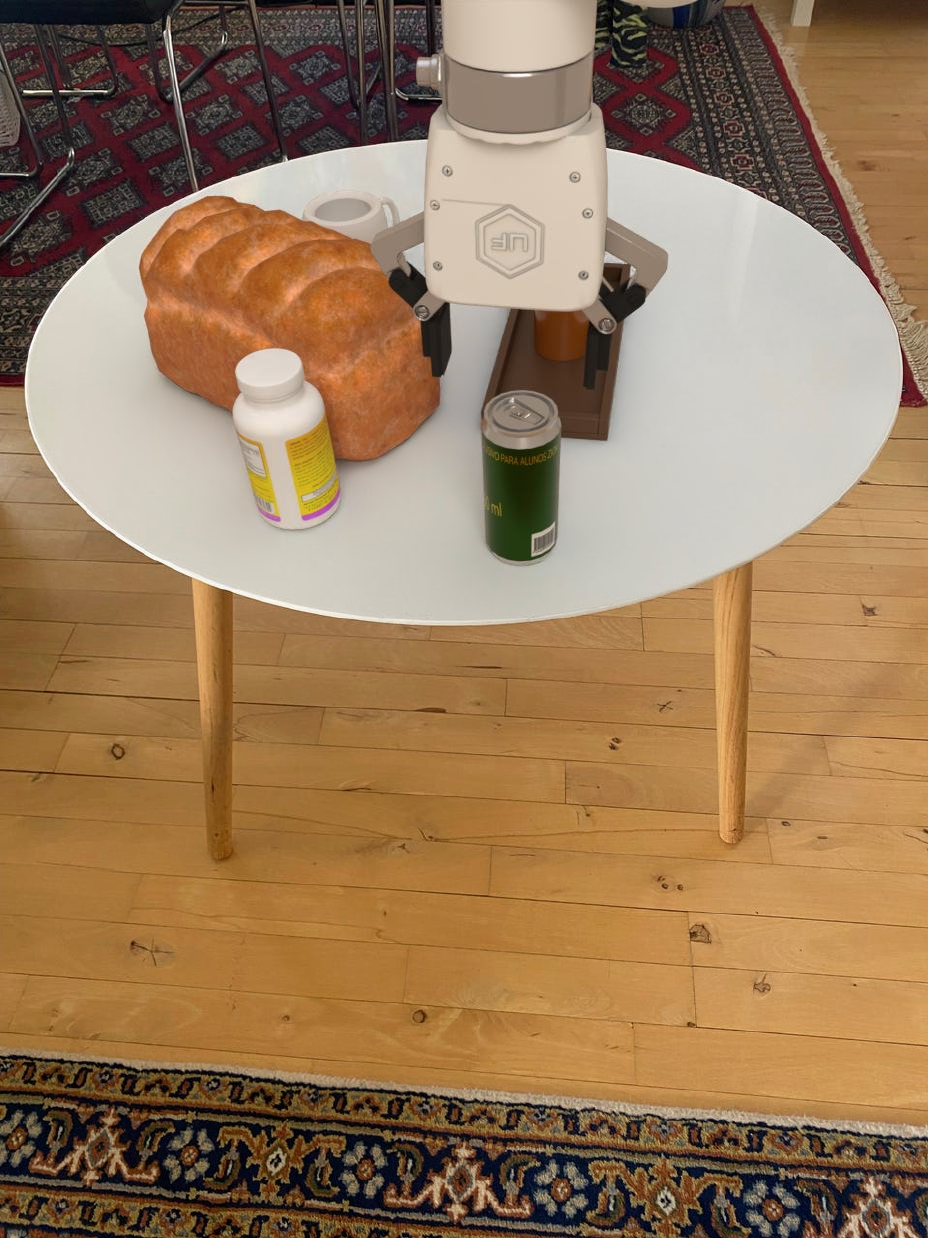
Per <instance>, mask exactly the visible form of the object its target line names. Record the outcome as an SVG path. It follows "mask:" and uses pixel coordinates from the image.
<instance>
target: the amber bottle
mask: <svg viewBox="0 0 928 1238" xmlns="http://www.w3.org/2000/svg"><path fill="white" fill-rule="evenodd" d="M588 326H589V319H588V318H587V316H586V315H585V314H584V313H583V311H582V310H578V311H569V312H564V311H542V310H534V349H535V351H536V352H537V353H538V354H539V355H540V356H542V357H544V358H546V359H549V360H553V361H570V360H575V359H578V358H580V357H582V356H584V355H585V353H586V338H587V331H588Z"/></svg>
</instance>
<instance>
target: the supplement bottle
mask: <svg viewBox="0 0 928 1238" xmlns="http://www.w3.org/2000/svg"><path fill="white" fill-rule="evenodd" d="M235 374H236V378H237V383H238V388H239V390H240V391H241V393H240V394H239V396H238V397H237V399H236V401H235V403H234V406H233V413H232V421H233V424H234V425H233V426H234V428H235V431H236V436H237V438H238V442H239V443H238V444H239V445H240V449H241V453H242V456H243V457H242V458H243V460H244V464H245V469H246V471H247V474H248V475H247V476H248V480H249V483H250V486H251V489H252V494H253V497H254V500H255V504H256V507H257V510H258V512H259V514H260V516H261V517H262V518H263V519H264V520H265V521H266V522H267V523H269V525H272V526H274V527H276V528H279V529H283V530H293V531H294V530H295V531H296V530H303V529H304V530H305V529H309V528H312V527H316V526H318V525H320V524H322V523H324V522H326V521H327V520H328V519H329V518H331V517H332V516H333V515H334V513H335V512H336V511H337V510H338V508H339V506H340V504H341V500H342V499H341V498H342V493H341V491H342V490H341V486H340V479H339V474H338V469H337V464H336V458H335V457H334V453H333V448H332V443H331V438H330V433H329V427H328V422H327V417H326V412H325V407H324V403H323V399H322V396H321V394H320V393H319V391H318V390H317V389H316V388H315V387H314V386H313V385H312V384H310V383H309V382H307V381H305V380H304V376H305V375H304V370H303V365H302V362H301V359H300V358H299V356H298V355H297V354H295V353H294V352H291V351H289V350H285V349H278V348H273V349H264V350H260V351H256V352H254V353H251V354H249V355H247V356H246V357H244V358H243V359H242V360H241V361H240V362H239V363H238V365H237V366H236V371H235Z"/></svg>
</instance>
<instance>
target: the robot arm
mask: <svg viewBox="0 0 928 1238" xmlns="http://www.w3.org/2000/svg"><path fill="white" fill-rule="evenodd" d="M620 1H622V2H625V3H627V4H633V5H637V6H642V7H647V8H657V9H660V8H661V9H668V8H669V9H670V8H677V7H682V6H686V5H690V4H692V3H695V2H697V1H698V0H620ZM440 7H441V8H440V9H441V28H442V31H441V32H442V48H441V49H440V51H439V52H438V54H437V53H436V54H435V53H433V54H432V55H431V57H428V56H426V57H425V56H418V57H417V59H416V64H415V65H416V67H415V77H416V78H415V79H416V85H417V86H418V87H431V90H436V91H438V95H439V97H441V101H442V102H441V104H440V105H439V106H438V107H437V109H436V110H435V111H434V112H433V114H432V115H431V117H430V122H429V128H428V135H427V143H426V156H425V170H424V190H423V191H424V194H423V200H424V201H423V211H421V212H419V213H417V214H415V215H413V216H411V217H409V218H405V220H402V221H400V223H398V224H396V225H394V226H393V225H392V226H389V227H388V228H387V229H385V230H383V231H381V232H379V233H377V234H376V236H375V238H374V240H373V242H372V244H371V246H370V252H371V254H372V255H373V257H374V259H375V260H376V262H377V263H378V265H379V267H380V268H381V270H382V272H383V273H384V274H386V276H387V278H388V279H389V281H388V282H389V286H390V287H391V288H392V290H394V291H395V292H396V293H397V294H398V295H399V296H400V297H401V298H402V299H403V300H404V301H405V302H406V303H408V304H409V305H410V306H411V307H412V308H413V314H414V316H415V317H416V318H417V319H418V320H420V323H421V336H422V350H423V356H424V357H431V369H432V377H440V378H442V376H443V377H444V376H445V373H446V370H447V368H448V365H449V363H450V362H449V361H450V359H451V356H452V352H453V345H452V344H453V343H452V341H453V340H452V324H451V323H452V322H451V320H452V319H451V304H453V305H455V304H456V305H460V306H461V305H462V306H472V307H473V306H474V307H483V308H484V307H487V308H499V309H510V308H512V309H527V310H542V311H564V312H569V311H578V310H582V311H583V313H584V314H585V315H586V316H587V318H588V319H589V326H588V331H587V338H586V353H585V367H584V382H583V387H586V389H589V390H594V389H595V383H596V377H597V371H598V370H599V371H608V367H609V360H610V350H611V339H612V332H613V331H615V329H616V326H617V324H618V323H620V322H621V321H622V320H624V321H625V319H627V318H628V317H629V316H631V315H632V314H633V313H635V312H636V311H637V310H638V309H640V308H641V307H642V306H643V305H645V303H646V299H647V298H648V296H649V295H650V293H652V292H653V290H654V289H655V287H656V286H657V285H658V283H660V280H661V279H662V278H663V276H664V275H665V273H667V270H668V266H669V265H668V263H669V254H668V251H666V250H665V249H664V248H662V247H660V246H658V245H657V244H655V243H654V242H652V241H651V240H648V239H647V238H645V237H643V236H641V235H640V234H638V233H636V232H634V231H632V230H631V229H629V228H628V227H626V226H624V225H623V224H621V223H619V222H617V221H615V220H614V219H612V218H610V217H609V216H608V213H609V212H608V211H609V209H608V207H609V203H608V201H609V181H608V179H609V177H608V174H609V173H608V171H609V170H608V155H607V152H608V151H607V142H606V141H607V140H606V133H605V124H604V117H603V111H602V109H601V108H600V106H599V105H598V104H596V103H595V102H593V101H592V92H593V77H594V59H595V42H596V26H597V10H598V0H440ZM421 244H423V266H424V275H423V274H422V273H421V272H420V271H419V270H418V268H416V267H415V266H414V265H413V264H412V263H411V262H410V261H408V260H407V259H406V255H405V253H403V252H405V251H408V250H410V249H413V248H414V247H416V246H419V245H421ZM606 253H607V254H610V255H611V256H613V257H615V258H617V259H618V260H620V261H621V262H623V263H625V264H629V265H631V267H632V268H634V269H635V271H634V273H633V274H632V275H631V276H630V278H629V279H628V280H626V281H625V282H624V283H623V284H621V285H620V286H619V287H617V288H616V289H615V290H613V288H612V287H611V286H610V284H609V283H608V282H607V281H606V279H605V278H604V277H603V276H602V275H603V267H604V263H605V257H606Z"/></svg>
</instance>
